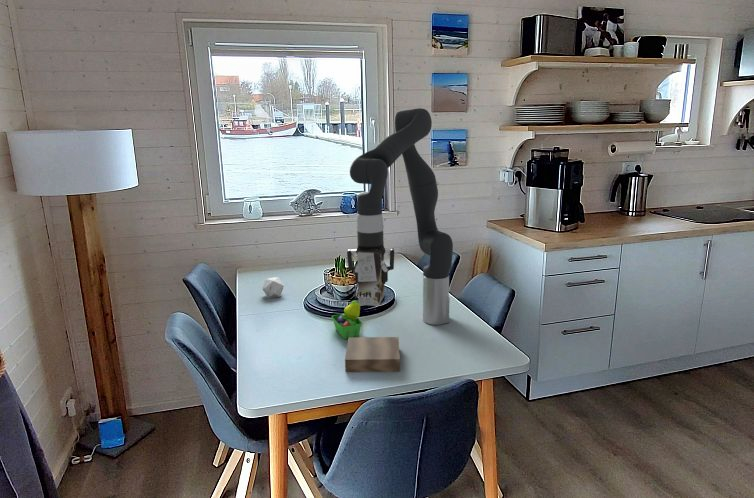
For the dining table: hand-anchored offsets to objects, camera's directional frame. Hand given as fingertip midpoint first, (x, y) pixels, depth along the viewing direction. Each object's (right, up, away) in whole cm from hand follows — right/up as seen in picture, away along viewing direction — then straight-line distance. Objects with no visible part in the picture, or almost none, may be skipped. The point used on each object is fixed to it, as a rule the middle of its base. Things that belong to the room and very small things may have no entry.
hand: (371, 283), depth 151 cm
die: (-42, -10, +62) cm, 76 cm away
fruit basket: (-8, -19, +26) cm, 33 cm away
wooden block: (0, -24, +6) cm, 25 cm away
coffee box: (0, -5, +1) cm, 5 cm away
